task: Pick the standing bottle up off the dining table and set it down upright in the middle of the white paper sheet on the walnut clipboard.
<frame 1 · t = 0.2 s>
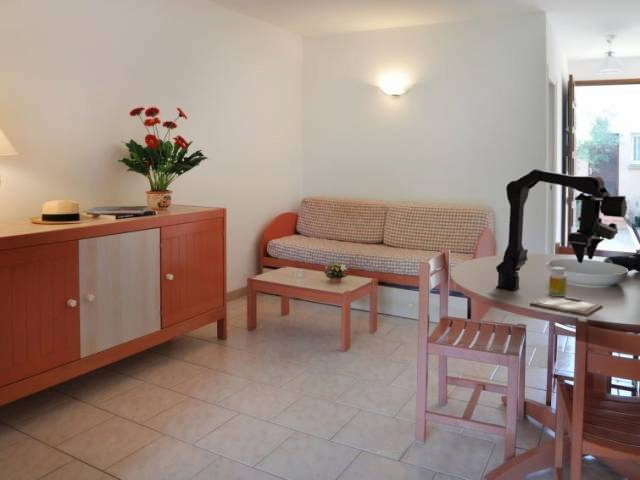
hand: (585, 260, 187), 14 cm above the table, fingers open, 9 cm apart
clipboard: (565, 306, 183), on the table
supplement bottle: (556, 295, 198), on the table
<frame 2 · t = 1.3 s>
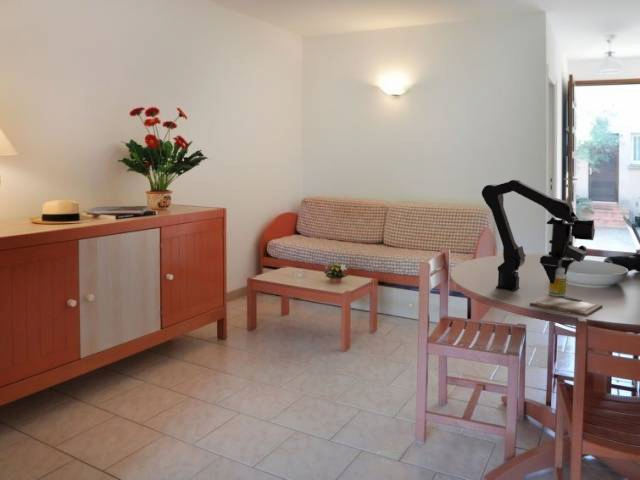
hand: (557, 281, 197), 5 cm above the table, fingers open, 9 cm apart
nothing on the table moved.
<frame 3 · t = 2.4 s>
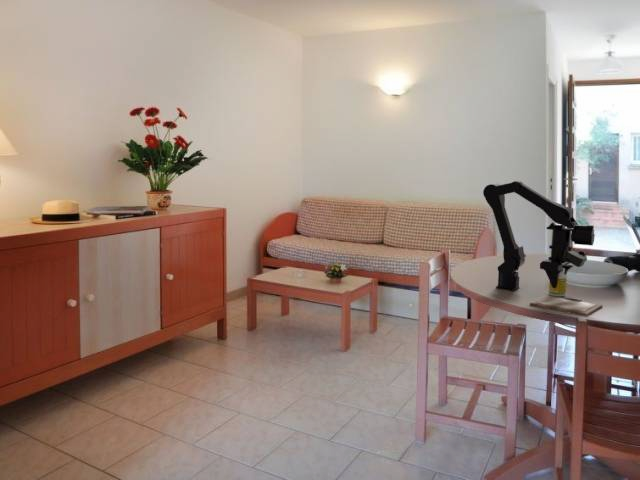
hand: (557, 286, 197), 3 cm above the table, fingers closed on supplement bottle, 5 cm apart
supplement bottle: (556, 295, 198), on the table, touching gripper
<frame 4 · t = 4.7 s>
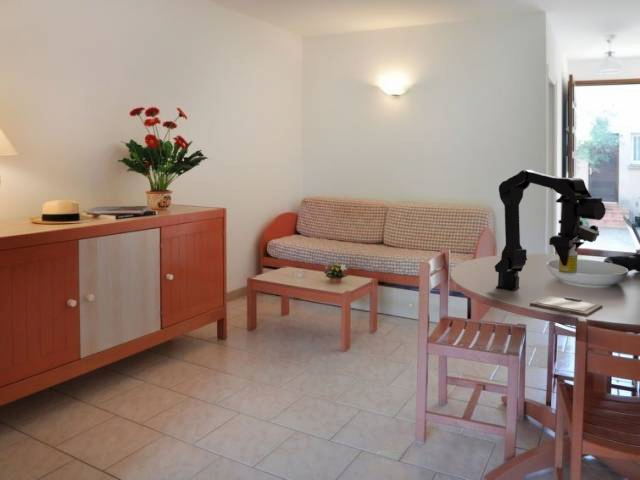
hand: (567, 264, 184), 13 cm above the table, fingers closed on supplement bottle, 5 cm apart
supplement bottle: (567, 274, 185), point 10 cm above the table, touching gripper
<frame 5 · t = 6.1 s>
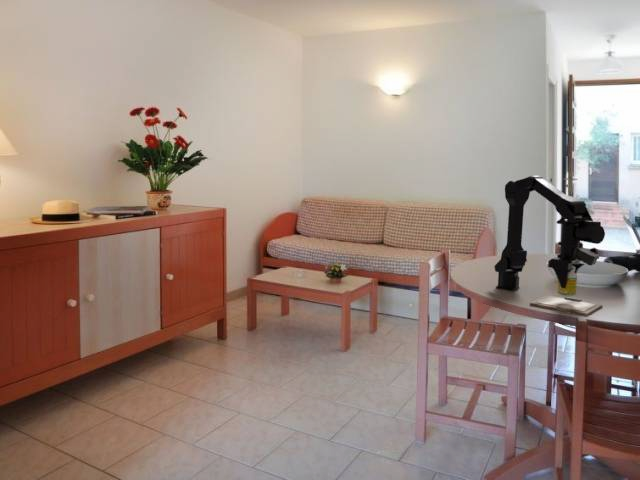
hand: (566, 286, 182), 7 cm above the table, fingers closed on supplement bottle, 5 cm apart
supplement bottle: (566, 296, 183), point 3 cm above the table, touching gripper
when the fingers open (5 cm above the table, at t = 7.2 s): supplement bottle drops 1 cm, resting on clipboard.
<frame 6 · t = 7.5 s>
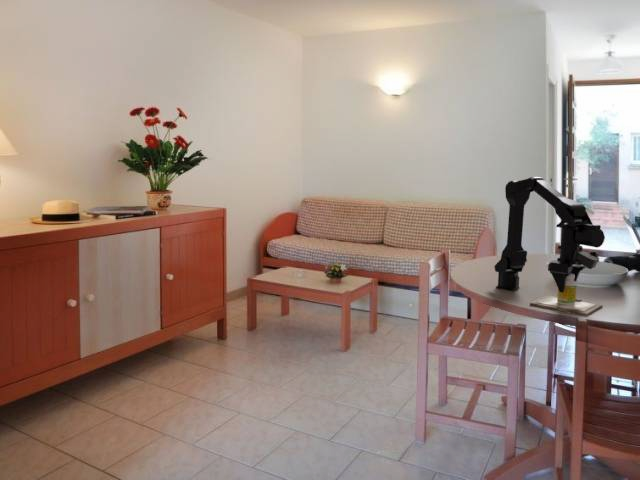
hand: (566, 289, 182), 5 cm above the table, fingers open, 9 cm apart
supplement bottle: (565, 303, 183), point 1 cm above the table, touching clipboard
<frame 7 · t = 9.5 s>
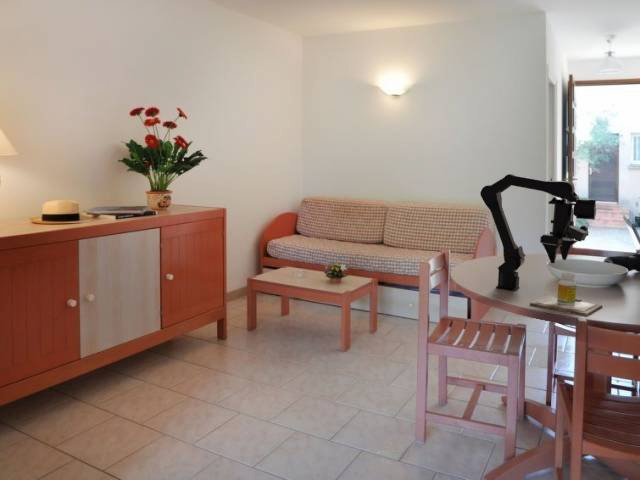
hand: (558, 261, 197), 12 cm above the table, fingers open, 9 cm apart
nothing on the table moved.
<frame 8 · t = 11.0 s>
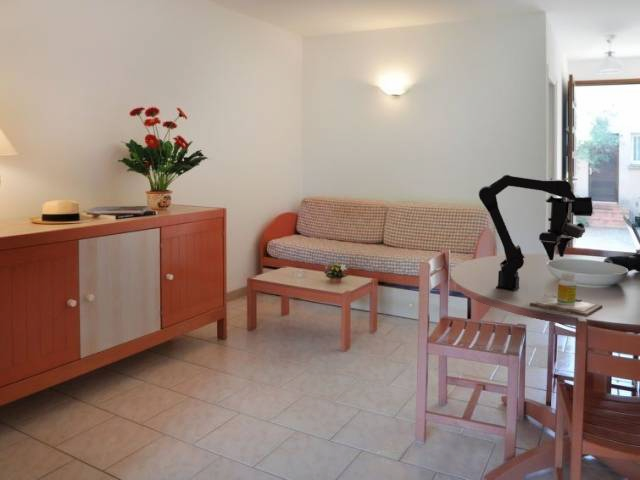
hand: (556, 258, 202), 12 cm above the table, fingers open, 9 cm apart
nothing on the table moved.
at the end: supplement bottle inside the target area on the clipboard (0.0 cm from its centre), point 0.8 cm above the clipboard's base; supplement bottle tilted 0°; the gripper is holding nothing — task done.
